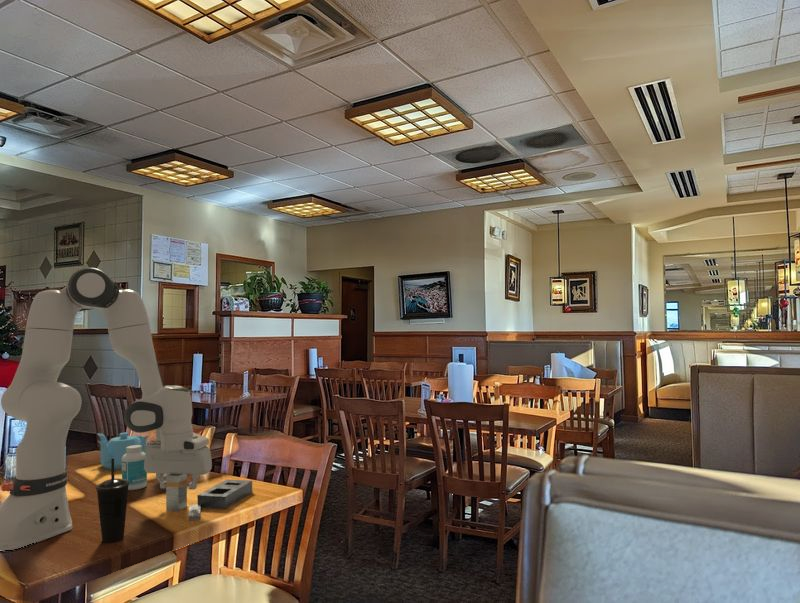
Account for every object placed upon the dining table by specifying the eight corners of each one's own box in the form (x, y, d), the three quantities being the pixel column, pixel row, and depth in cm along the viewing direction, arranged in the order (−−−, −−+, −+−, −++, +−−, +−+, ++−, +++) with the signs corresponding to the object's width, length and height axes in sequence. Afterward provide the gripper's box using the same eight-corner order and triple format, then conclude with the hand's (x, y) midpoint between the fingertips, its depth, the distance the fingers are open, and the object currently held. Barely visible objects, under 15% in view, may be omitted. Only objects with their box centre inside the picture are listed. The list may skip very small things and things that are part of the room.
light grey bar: (200, 521, 152) (199, 515, 152) (188, 522, 151) (188, 516, 152) (200, 509, 162) (200, 503, 162) (189, 510, 161) (189, 505, 161)
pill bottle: (151, 484, 187) (151, 443, 187) (138, 491, 179) (138, 449, 180) (130, 484, 187) (130, 443, 188) (117, 491, 180) (116, 449, 180)
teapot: (97, 474, 201) (97, 440, 201) (97, 463, 217) (97, 431, 217) (149, 467, 209) (149, 434, 209) (145, 457, 225) (145, 426, 226)
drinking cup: (135, 532, 144) (134, 454, 144) (121, 544, 136) (121, 462, 137) (105, 533, 143) (104, 455, 144) (89, 545, 136) (89, 463, 136)
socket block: (225, 509, 160) (225, 496, 160) (197, 507, 162) (197, 495, 162) (252, 491, 176) (252, 480, 176) (226, 490, 178) (226, 479, 178)
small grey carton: (178, 511, 159) (178, 476, 159) (166, 510, 160) (165, 475, 160) (187, 506, 163) (186, 472, 163) (174, 505, 164) (174, 471, 164)
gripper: (138, 442, 162) (139, 490, 162) (202, 444, 158) (203, 493, 157) (152, 437, 168) (153, 483, 168) (214, 439, 164) (215, 486, 164)
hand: (178, 488), depth 163 cm, fingers open, 8 cm apart
